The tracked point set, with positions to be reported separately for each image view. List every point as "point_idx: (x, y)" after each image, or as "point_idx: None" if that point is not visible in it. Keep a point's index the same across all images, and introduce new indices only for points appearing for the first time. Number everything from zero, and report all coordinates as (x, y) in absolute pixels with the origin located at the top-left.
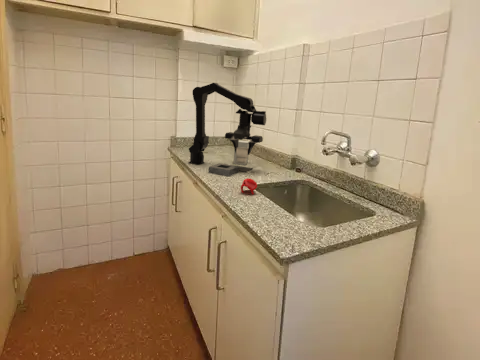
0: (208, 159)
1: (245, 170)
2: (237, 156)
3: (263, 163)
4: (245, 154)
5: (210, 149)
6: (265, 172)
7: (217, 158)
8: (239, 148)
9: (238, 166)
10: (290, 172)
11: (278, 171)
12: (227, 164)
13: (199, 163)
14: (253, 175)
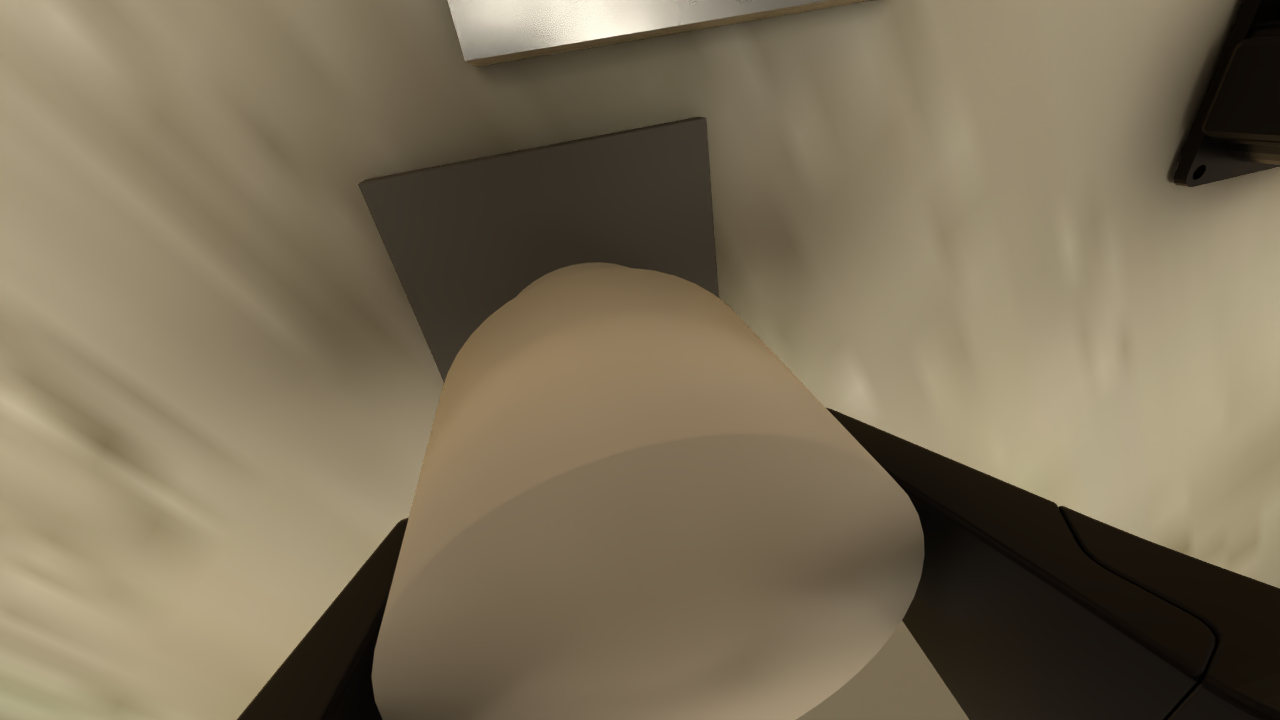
0: (1130, 386)
1: (421, 232)
2: (672, 282)
3: None
4: (434, 440)
5: None
6: (199, 457)
7: (1046, 492)
8: (752, 511)
9: (461, 46)
10: (44, 705)
11: (173, 627)
12: (767, 3)
13: (1262, 4)
14: (44, 66)
